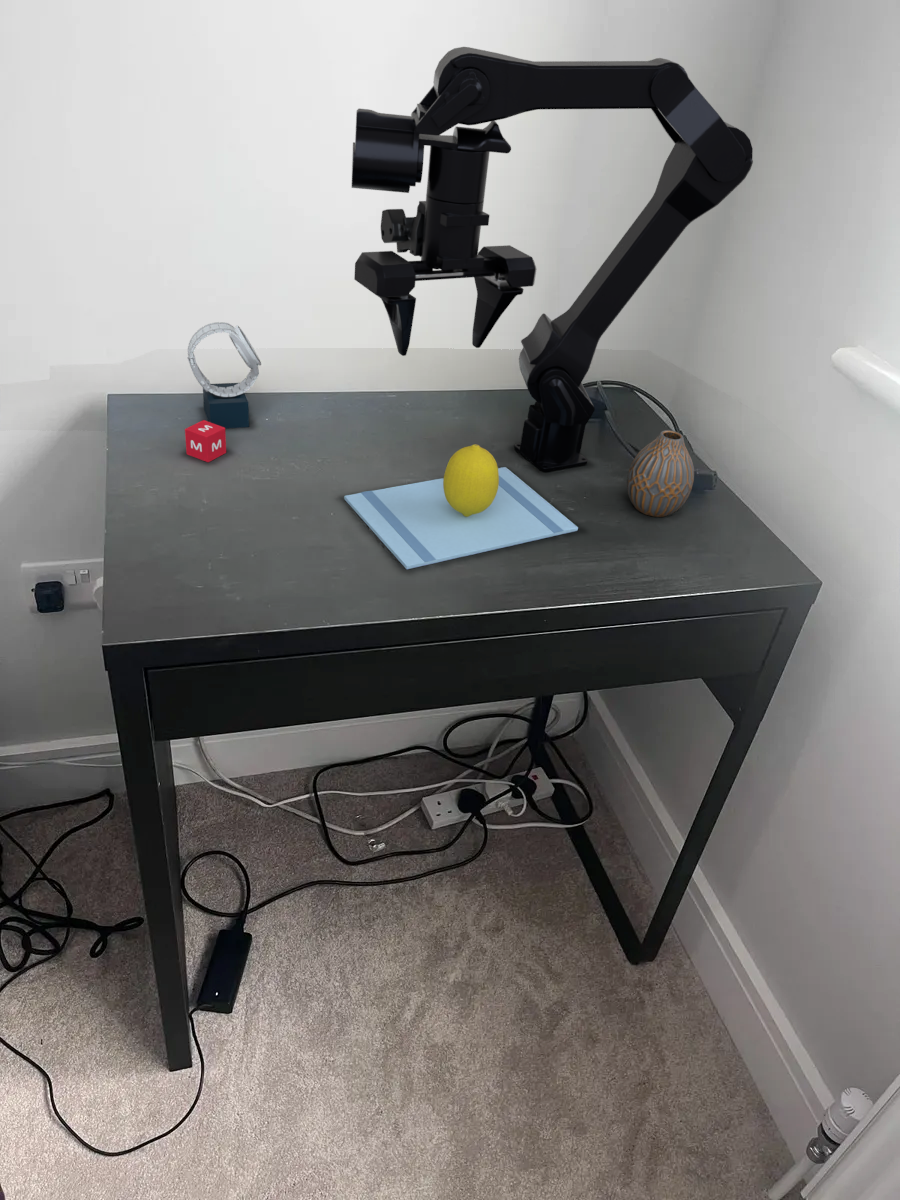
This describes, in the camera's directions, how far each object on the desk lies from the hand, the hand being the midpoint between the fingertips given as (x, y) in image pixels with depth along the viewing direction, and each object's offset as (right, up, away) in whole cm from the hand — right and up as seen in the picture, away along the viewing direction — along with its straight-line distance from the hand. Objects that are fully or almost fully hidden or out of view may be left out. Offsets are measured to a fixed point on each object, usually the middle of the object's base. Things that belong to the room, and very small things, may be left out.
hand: (439, 350), depth 99 cm
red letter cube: (-25, -11, +1) cm, 28 cm away
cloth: (+2, -18, -4) cm, 19 cm away
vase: (+23, -17, +1) cm, 29 cm away
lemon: (+3, -19, -5) cm, 19 cm away
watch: (-25, -6, +8) cm, 27 cm away
